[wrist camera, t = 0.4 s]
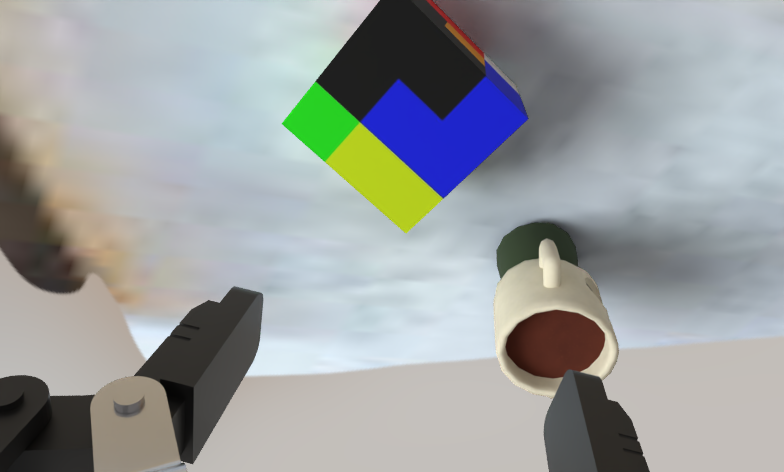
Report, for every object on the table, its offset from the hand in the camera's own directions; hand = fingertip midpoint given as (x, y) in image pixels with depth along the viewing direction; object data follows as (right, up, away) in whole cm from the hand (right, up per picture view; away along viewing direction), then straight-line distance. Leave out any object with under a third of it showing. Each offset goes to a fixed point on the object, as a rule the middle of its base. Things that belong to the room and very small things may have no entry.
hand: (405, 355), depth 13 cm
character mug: (+11, +2, +29) cm, 32 cm away
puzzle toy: (+2, +14, +25) cm, 29 cm away
